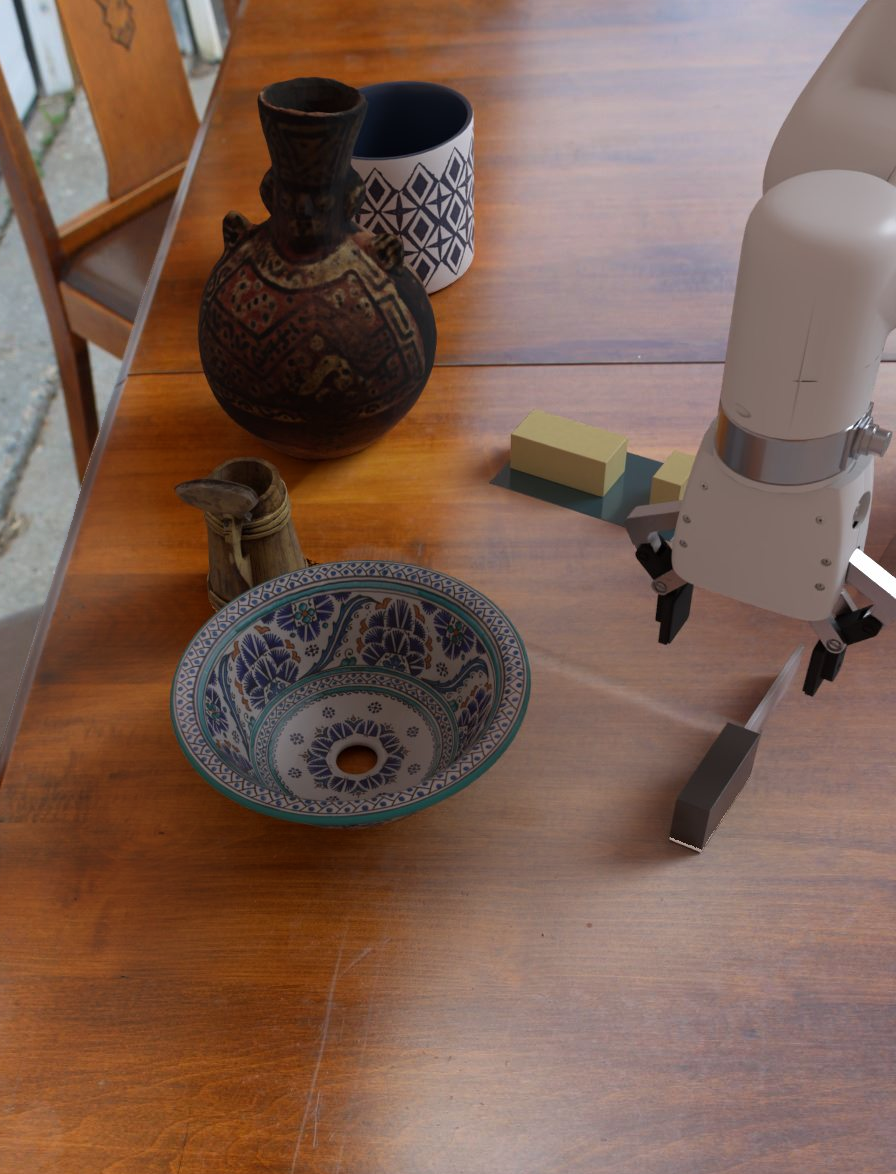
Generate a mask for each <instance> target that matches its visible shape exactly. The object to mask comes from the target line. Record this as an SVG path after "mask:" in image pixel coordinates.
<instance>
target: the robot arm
mask: <svg viewBox="0 0 896 1174" xmlns="http://www.w3.org/2000/svg"><path fill="white" fill-rule="evenodd" d="M761 189H762V196H761V197H760V198H759V199H758V200H757V202H756V204H754V207H753V208H752V210H751V212H750V213H749V215H748V217H747V221H746V223H745V227H744V232H743V237H742V242H741V247H740V255H739V262H738V269H737V275H736V282H735V289H734V297H733V303H732V309H731V317H730V323H729V324H730V325H729V331H728V337H727V346H726V353H725V359H724V367H723V374H722V381H721V389H720V394H719V402H718V408H717V414H716V416H715V417H714V418H713V420H712V421H711V423H710V425H709V426H708V428H707V430H706V431H705V433H704V435H703V438H702V440H701V442H700V445H699V447H698V450H697V452H696V455H695V456H696V457H695V460H694V463H693V466H692V469H691V472H690V475H689V479H688V482H687V485H686V489H685V492H684V496H683V499H682V500H679V501H672V502H665V503H658V504H651V505H643V506H637V507H635V508H634V509H633V510H632V512H631V513H630V514H629V515H628V517H627V518H626V519H625V521H624V525H625V527H624V528H625V530H626V532H627V535H628V537H629V539H630V541H631V544H632V546H634V547H635V549H636V550H635V553H634V555H635V558H636V559H637V561H638V562H639V564H640V565H641V567H642V568H643V569H644V570H645V571H646V573H647V574H648V576H649V577H650V578H651V579H652V581H651V585H650V586H651V588H652V591H653V592H654V593H655V594H657V600H656V606H655V607H656V608H655V618H654V621H655V622H658V623H659V632H658V640H657V642H658V643H659V644H661V645H664V646H667V645H671V643H672V642H673V641H674V639H675V638H676V636H677V635H678V634H679V632H680V631H681V630H682V628H683V627H684V625H685V624H686V623H687V621H688V619H689V618H690V614H691V606H692V601H693V594H694V593H693V592H694V586H696V587H698V588H701V589H703V590H707V591H709V592H712V593H715V594H718V595H721V596H724V597H727V598H729V599H733V600H735V601H739V602H741V603H744V604H748V605H751V606H754V607H756V608H757V607H758V608H760V609H763V610H765V611H769V612H773V613H776V614H778V615H782V616H785V617H789V618H792V619H797V620H800V621H806V622H808V623H809V624H810V626H811V628H812V629H813V631H814V632H815V634H816V636H817V637H818V640H817V642H816V644H815V645H814V647H813V649H812V651H811V655H810V659H809V663H808V666H807V670H806V674H805V677H804V682H803V686H802V690H801V691H802V692H804V695H805V696H809V697H811V698H812V697H814V696H815V694H816V693H817V692H818V690H819V688H820V687H821V685H822V683H823V682H824V681H828V682H830V683H833V682H834V681H835V679H836V678H837V676H838V674H839V672H840V670H841V668H842V666H843V662H844V659H845V656H846V652H847V648H848V646H851V645H853V644H857V643H859V642H860V643H861V642H863V641H866V640H870V639H872V638H875V637H876V636H878V635H879V633H880V631H882V630H884V629H885V628H887V627H889V626H890V625H891V624H892V623H894V622H895V621H896V578H895V576H893V575H892V574H890V572H888V571H887V570H886V569H884V568H883V567H882V566H881V565H879V564H878V563H876V562H875V561H874V560H873V559H872V558H871V557H869V556H868V555H867V554H865V553H864V552H865V551H864V550H865V544H866V540H867V534H868V529H869V524H870V523H869V522H870V516H871V511H872V502H873V493H874V481H875V457H879V458H883V457H884V455H885V454H886V452H887V450H888V449H889V447H890V444H891V440H892V437H893V431H892V430H889V429H886V428H881V427H880V424H877V423H874V416H872V413H873V409H874V405H875V402H874V401H872V398H873V393H874V389H875V385H876V382H877V378H878V373H879V370H880V367H881V361H882V357H883V353H884V349H885V346H886V343H887V339H888V337H889V335H890V334H891V332H893V331H894V330H896V0H866V1H865V3H863V5H862V6H861V7H860V9H859V10H858V11H857V12H856V13H855V15H854V16H853V17H852V19H851V20H850V22H849V23H848V25H847V26H846V27H845V28H844V29H843V31H842V32H841V34H840V35H839V37H838V39H837V40H836V41H835V43H834V44H833V46H832V47H831V49H830V50H829V52H828V53H827V54H826V56H825V57H824V58H823V60H822V61H821V62H820V64H819V66H818V67H817V69H816V70H815V71H814V73H813V74H812V75H811V77H810V79H809V80H808V82H807V83H806V85H805V86H804V88H803V89H802V91H801V92H800V94H799V95H798V97H797V98H796V100H795V102H794V103H793V105H792V107H791V108H790V110H789V112H788V114H787V115H786V117H785V119H784V120H783V122H782V124H781V126H780V129H779V130H778V132H777V135H776V137H775V139H774V141H773V143H772V146H771V148H770V150H769V154H768V157H767V159H766V163H765V167H764V170H763V177H762V187H761ZM874 456H875V457H874ZM674 529H675V534H674V538H673V539H672V547H671V546H670V545H669V544H668V541H665V540H664V538H663V537H662V536H661V535H659V534H658V531H666V530H674ZM845 585H847V586H852V587H853V588H854V589H855V590H857V591H858V592H859V593H860V594H862V595H863V596H864V597H865V598H867V599H868V600H869V601H870V602H871V603H873V604H870V605H867V606H864V607H862V608H858V607H857V605H856V604H855V601H854V600H853V599H852V597H851V596H850V594H849V592H848V590H847V589H846V587H845ZM833 615H834V616H833Z"/></svg>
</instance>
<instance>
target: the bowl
mask: <svg viewBox="0 0 896 1174" xmlns="http://www.w3.org/2000/svg"><path fill="white" fill-rule="evenodd" d="M531 673H532V672H531V666H530V661H529V656H528V653H527V650H526V647H525V644H524V641H523V639H522V637H521V635H520V633H519V632H518V630H517V629H516V627H515V625H514V623H513V621H511V620H510V618H509V617H508V616H507V615H506V614H505V612H504V611H503V610H502V609H501V608H500V607H499V606H498V605H497V604H495V602H494V601H493V600H491V599H490V598H489V597H487V596H486V595H485V594H484V593H482V592H480V591H479V590H478V589H476V588H474V587H472V586H471V585H469V584H467V583H466V582H464V581H461V580H460V579H457V578H456V577H453V576H451V575H448V574H446V573H443V572H441V571H437V570H434V569H431V568H428V567H425V566H420V565H416V564H413V563H405V562H400V561H390V560H381V559H379V560H378V559H357V560H353V559H352V560H341V561H333V562H332V561H331V562H327V563H321V564H314V565H310V566H308V567H306V568H302V569H298V570H295V571H292V572H289V573H285V574H283V575H280V576H278V577H275V578H272V579H270V580H268V581H266V582H263V583H261V584H259V585H257V586H255V587H253V588H251V589H250V590H248V591H246V592H244V593H243V594H241V595H239V596H238V597H236V598H235V599H233V600H232V601H230V602H229V603H228V604H227V605H225V606H224V607H223V608H221V609H220V610H219V611H218V612H215V613H214V614H213V615H212V616H211V617H210V618H209V619H207V621H206V622H204V624H203V625H202V626H201V627H200V628H199V629H198V631H197V632H196V633H195V634H194V636H193V637H192V639H190V641H189V643H188V644H187V645H186V647H185V648H184V651H183V652H182V654H181V656H180V658H179V661H178V663H177V665H176V668H175V671H174V674H173V676H172V677H173V678H172V681H171V686H170V694H169V711H170V712H169V713H170V721H171V725H172V730H173V733H174V736H175V739H176V741H177V744H178V746H179V748H180V749H181V751H182V753H183V755H184V757H185V758H186V760H187V762H188V763H189V764H190V765H191V767H192V769H193V770H194V771H195V772H196V773H197V774H198V775H199V776H200V777H201V779H203V780H204V781H205V782H206V783H207V784H209V785H210V786H211V787H212V788H213V789H214V790H215V791H217V792H218V793H220V794H221V795H223V796H224V797H226V798H227V799H229V800H231V801H233V802H235V803H236V804H238V805H240V806H243V807H244V808H246V809H249V810H251V811H254V812H256V813H259V814H262V815H265V816H268V817H271V818H275V819H278V820H281V821H282V820H284V821H287V822H291V823H297V824H298V823H299V824H304V825H305V824H306V825H309V826H313V827H316V828H317V827H318V828H324V829H330V830H360V829H361V830H363V829H370V828H375V827H381V826H385V825H388V824H391V823H395V822H397V821H401V820H403V819H406V818H407V817H410V816H412V815H414V814H416V813H418V812H420V811H422V810H425V809H427V808H429V807H432V806H434V805H437V804H439V803H441V802H444V801H445V800H447V799H449V798H450V797H452V796H454V795H456V794H457V793H459V792H461V791H462V790H464V789H466V788H467V787H469V786H470V785H471V784H473V783H474V782H475V781H476V780H478V779H479V778H481V777H482V776H483V775H484V774H485V773H486V772H487V771H488V770H489V769H491V768H492V767H493V766H494V765H495V764H496V763H497V761H499V760H500V759H501V757H502V756H503V755H504V753H505V752H506V751H507V750H508V748H509V747H510V745H511V744H512V742H513V741H514V739H515V738H516V736H517V734H518V732H519V730H520V728H521V726H522V725H523V722H524V719H525V716H526V713H527V711H528V706H529V702H530V698H531V688H532V676H531V675H532V674H531ZM353 746H364V747H367V748H370V749H371V750H372V751H374V752H375V754H376V756H377V761H376V763H375V765H374V766H373V768H371V769H370V770H368V771H366V772H362V773H358V774H352V773H347V772H344V771H343V770H342V769H340V768H339V766H338V764H337V759H338V756H339V755H340V754H341V752H342V751H344V750H345V749H347V748H350V747H353Z"/></svg>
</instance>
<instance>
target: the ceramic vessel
mask: <svg viewBox="0 0 896 1174" xmlns="http://www.w3.org/2000/svg"><path fill="white" fill-rule="evenodd" d="M356 89H357V88H355V87H353V86H350V85H347V84H345V83H344V82H342V81H339V80H337V79H335V78H327V77H321V76H308V77H307V76H304V77H303V76H301V77H296V78H292V79H287V80H284V81H277V82H273V83H271V84H268V85H266V86H264V87H263V89H262V90H260V91H259V93H258V95H257V99H256V100H257V101H256V102H257V109H258V117H259V120H260V126H261V129H262V133H263V136H264V139H265V142H266V147H267V150H268V154H269V158H270V164H271V166H270V167H269V168H268V169H267V171H266V172H265V173H264V175H263V177H262V179H261V182H260V184H259V187H258V191H259V196H260V199H261V202H262V204H263V205H264V207H265V209H266V210H267V212H268V213H269V215H270V216H269V217H268V218H267V219H266V220H264V221H261V222H260V223H258V224H256V223H252V222H251V221H250V220H249V219H248V218H247V217H246V216H245V215H244V214H243V213H241V212H239V211H238V210H230V211H228V212H227V214H225V215H224V216H223V218H222V222H221V223H222V224H221V225H222V228H221V229H222V230H221V232H222V240H223V247H224V249H223V252H222V254H221V256H220V257H219V259H218V260H217V262H216V263H215V264H214V265H213V267H212V270H211V272H210V274H209V276H208V277H207V280H206V282H205V283H204V284H205V285H204V288H203V290H202V294H201V298H200V304H199V310H198V322H197V342H198V351H199V352H198V353H199V358H200V363H201V368H202V371H203V374H204V377H205V380H206V382H207V384H208V386H209V388H210V390H211V392H212V395H213V397H214V398H215V400H216V401H217V403H218V404H219V406H220V407H221V409H222V410H223V411H224V413H225V414H226V415H227V416H228V417H229V418H230V419H231V420H232V421H233V422H234V423H235V424H237V425H238V426H239V427H240V428H241V429H243V430H244V431H245V432H247V433H248V434H249V435H250V436H252V437H254V438H255V439H257V440H258V441H259V442H261V444H263V445H264V446H267V447H269V448H271V449H273V450H276V451H278V452H280V453H282V454H284V455H287V456H290V457H294V458H297V459H301V460H310V461H325V460H331V459H339V458H342V457H347V456H350V455H353V454H356V453H358V452H361V451H364V450H365V449H367V448H369V447H371V446H372V445H373V444H375V443H376V442H378V441H379V440H381V439H382V438H383V437H384V436H386V435H387V434H389V433H390V431H392V430H393V429H394V428H395V427H396V426H397V425H399V423H400V422H401V421H402V420H403V419H404V418H405V417H406V416H407V415H408V414H409V413H410V411H411V410H412V409H413V407H414V406H415V405H416V404H417V402H418V401H419V399H420V397H421V395H422V393H423V392H424V390H425V388H426V386H427V383H428V381H429V379H430V376H431V374H432V371H433V368H434V364H435V358H436V351H437V346H438V345H437V344H438V329H437V324H436V318H435V314H434V313H435V312H434V309H433V306H432V303H431V299H430V296H429V294H427V291H426V289H425V286H424V284H423V282H422V280H421V279H420V277H419V275H418V274H417V272H416V271H415V269H414V268H413V267H412V266H411V265H410V264H409V262H408V261H407V260H406V259H405V258H404V255H405V252H404V245H403V242H402V239H400V238H399V237H398V236H396V235H394V234H391V233H383V234H379V235H376V234H374V233H373V232H371V231H369V230H368V229H366V228H365V227H363V226H361V225H359V224H358V223H356V222H354V221H352V220H351V219H352V218H353V217H354V215H355V214H356V213H357V212H358V211H359V210H360V209H361V207H362V206H363V204H364V202H365V198H366V186H365V183H364V181H363V179H362V177H361V176H360V175H359V173H358V172H357V171H356V170H354V169H353V167H352V165H351V159H352V154H353V149H354V145H355V142H356V140H357V137H358V134H359V131H360V129H361V126H362V123H363V121H364V119H365V116H366V112H367V108H368V103H369V102H368V100H367V98H366V96H365V95H363V94H361V93H360V91H358V90H356Z"/></svg>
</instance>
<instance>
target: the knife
mask: <svg viewBox="0 0 896 1174" xmlns="http://www.w3.org/2000/svg"><path fill="white" fill-rule="evenodd" d="M804 649H805V644H802V643H799V644H798V645H797V647H796V648H795V650H794V651H793V653H792V654H791V655H790V657H789V659H788V660H787V661H786V663H785V665H784V666H783V668H782V669H781V671H780V672H779V674H778V675H777V677H776V678H775V680H774V681H773V683H772V684H771V686H770V688H769V689H768V691H767V692H766V693H765V695H764V697H763V698H762V700H761V701H760V702H759V704H758V705H757V707H756V709H754V711H753V713H752V714H751V716H750V717H749V719H748V721H747V722H746V724H745V725H744V727H742V726H740V725H737V724H734V723H732V722H726V724H725V726H724V727H723V729H722V730H721V731H720V732H719V734H718V736H717V737H716V739H715V740H714V742H713V743H712V745H711V746H710V748H708V749H709V750H708V751H707V752H706V753H705V756H704V757H703V758H702V760H701V761H700V763H699V764H698V766H697V767H696V769H695V770H694V772H693V773H692V774H691V776H690V778H689V779H688V780H687V782H686V783H685V785H684V787H683V788H682V789H681V791H680V792H679V794H678V795H677V797H676V798H675V804H674V809H673V815H672V819H671V825H670V831H669V837H671V838H674V839H675V840H679V841H681V842H683V843H686V844H688V845H692V846H694V847H695V848H696V847H697V848H699V849H701V850H702V849H703V847H704V846H705V844H706V842H707V841H708V839H709V837H710V836H711V834H712V833H713V831H714V830H715V829H716V827H717V826H718V824H719V823H720V821H721V819H722V818H723V816H724V815H725V813H726V812H727V810H728V809H729V807H730V806H731V804H732V803H733V801H734V800H735V798H736V796H737V795H738V793H739V792H740V791H741V792H742V790H743V789H744V787H745V786H744V784H745V783H746V781H747V780H748V778H749V777H750V778H751V776H750V775H752V771H753V767H754V763H755V760H756V755H757V751H758V747H759V743H760V738H761V735H762V734H763V732H764V730H763V728H764V726H765V724H766V723H767V721H768V720H769V718H770V717H771V715H772V713H773V712H774V711H775V709H776V707H778V704H780V702H781V700H782V698H783V697H784V695H785V694H786V692H787V690H788V689H789V688H790V686H791V685H792V683H793V681H794V680H795V678H796V677H797V676H798V672H799V668H800V664H801V661H802V657H803V654H804ZM762 731H763V732H762ZM750 778H749V779H750ZM748 781H749V780H748ZM748 781H747V782H748ZM746 784H747V783H746ZM746 784H745V785H746ZM743 786H744V787H743ZM742 788H743V789H742ZM741 789H742V790H741ZM741 792H740V793H741ZM740 793H739V794H740ZM738 796H739V795H738ZM736 799H737V798H736ZM735 801H736V800H735ZM735 801H734V802H735ZM733 804H734V803H733ZM733 804H732V805H733ZM731 807H732V806H731ZM731 807H730V808H731ZM729 810H730V809H729ZM727 813H728V812H727ZM725 816H726V815H725ZM723 819H724V818H723ZM721 822H722V821H721ZM720 824H721V823H720ZM718 827H719V826H718ZM716 830H717V829H716ZM669 837H668V838H669ZM705 847H706V846H705ZM703 850H704V849H703Z"/></svg>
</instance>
